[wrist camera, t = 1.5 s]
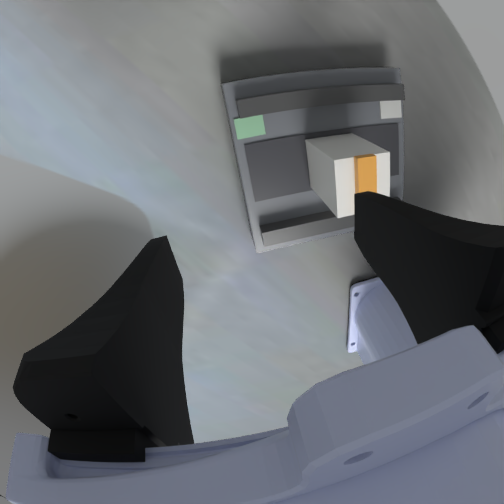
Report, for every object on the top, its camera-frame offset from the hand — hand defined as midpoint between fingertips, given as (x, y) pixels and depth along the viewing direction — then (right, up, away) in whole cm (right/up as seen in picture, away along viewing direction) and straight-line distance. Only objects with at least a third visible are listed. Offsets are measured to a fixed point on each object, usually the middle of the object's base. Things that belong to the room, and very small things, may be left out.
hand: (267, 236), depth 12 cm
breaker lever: (+4, +5, +6) cm, 9 cm away
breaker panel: (+4, +6, +8) cm, 11 cm away
